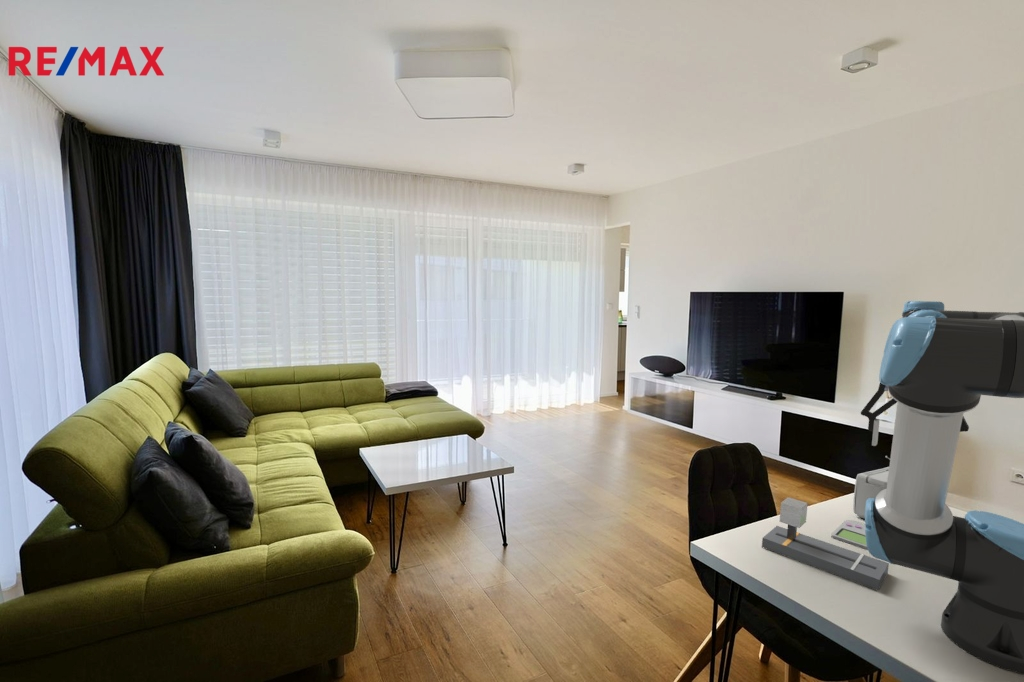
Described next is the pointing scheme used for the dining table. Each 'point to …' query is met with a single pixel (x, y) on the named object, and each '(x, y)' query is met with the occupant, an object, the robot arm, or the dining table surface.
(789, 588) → the dining table surface
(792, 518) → the cap
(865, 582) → the fader board
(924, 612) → the dining table surface
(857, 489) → the stereo radio cassette player
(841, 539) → the handheld gaming console
